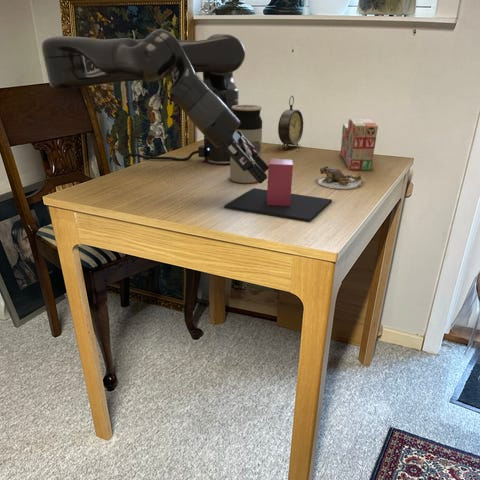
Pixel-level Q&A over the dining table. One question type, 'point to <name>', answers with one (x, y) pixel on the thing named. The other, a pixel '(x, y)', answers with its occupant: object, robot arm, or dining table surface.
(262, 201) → the mat
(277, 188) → the block
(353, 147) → the stack of blocks
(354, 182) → the frog figurine
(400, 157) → the dining table surface
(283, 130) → the alarm clock
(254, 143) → the travel mug
